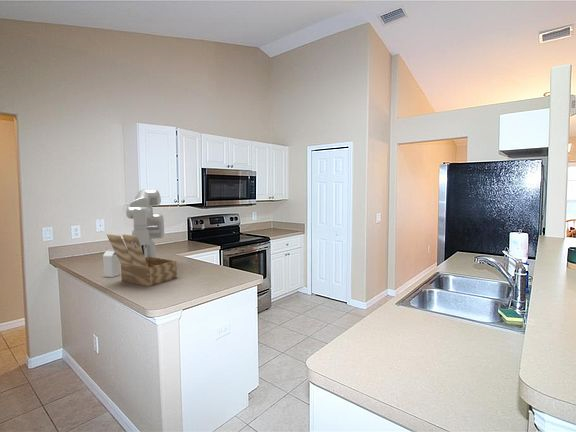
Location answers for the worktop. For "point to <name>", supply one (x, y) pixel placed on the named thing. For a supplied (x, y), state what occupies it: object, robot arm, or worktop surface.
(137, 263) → the flap
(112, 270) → the milk carton
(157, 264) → the carton
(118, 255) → the flap
